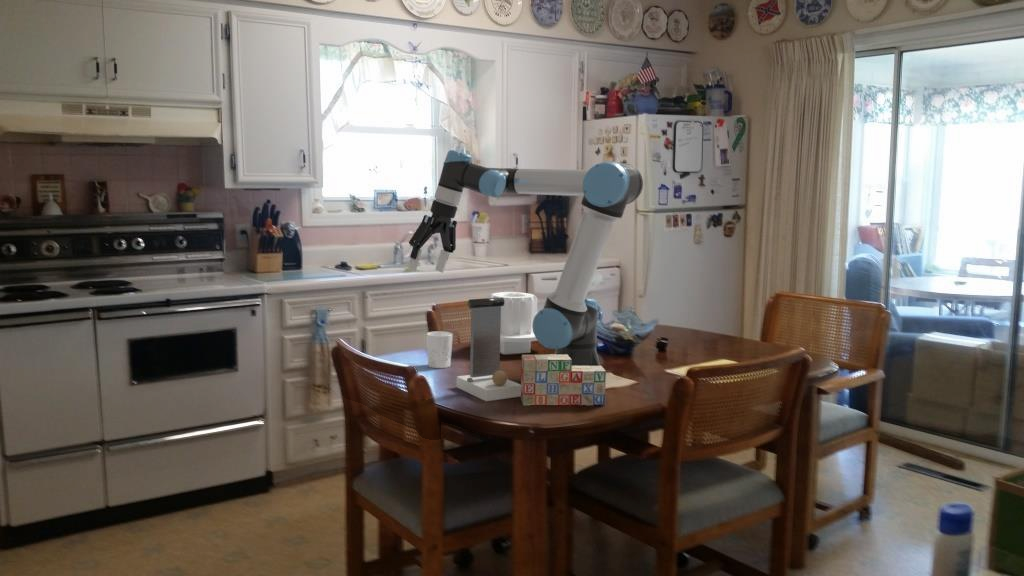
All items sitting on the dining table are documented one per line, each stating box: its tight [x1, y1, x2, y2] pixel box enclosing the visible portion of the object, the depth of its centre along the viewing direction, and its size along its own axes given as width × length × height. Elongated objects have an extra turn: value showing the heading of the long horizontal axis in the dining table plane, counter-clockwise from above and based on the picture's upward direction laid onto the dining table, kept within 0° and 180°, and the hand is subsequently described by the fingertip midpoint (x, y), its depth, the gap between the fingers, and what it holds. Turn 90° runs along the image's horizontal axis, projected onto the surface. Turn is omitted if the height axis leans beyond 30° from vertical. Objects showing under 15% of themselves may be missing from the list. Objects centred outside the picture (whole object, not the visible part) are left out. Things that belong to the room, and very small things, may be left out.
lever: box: [467, 297, 505, 378], centre depth 223 cm, size 2×10×21 cm, turn 122°
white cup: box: [426, 330, 453, 369], centre depth 251 cm, size 8×8×10 cm
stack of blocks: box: [520, 353, 607, 406], centre depth 214 cm, size 21×6×12 cm, turn 95°
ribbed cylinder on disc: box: [487, 291, 538, 355], centre depth 275 cm, size 25×25×19 cm
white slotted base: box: [456, 369, 521, 402], centre depth 222 cm, size 16×11×7 cm
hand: (425, 270), depth 247 cm, fingers open, 13 cm apart
